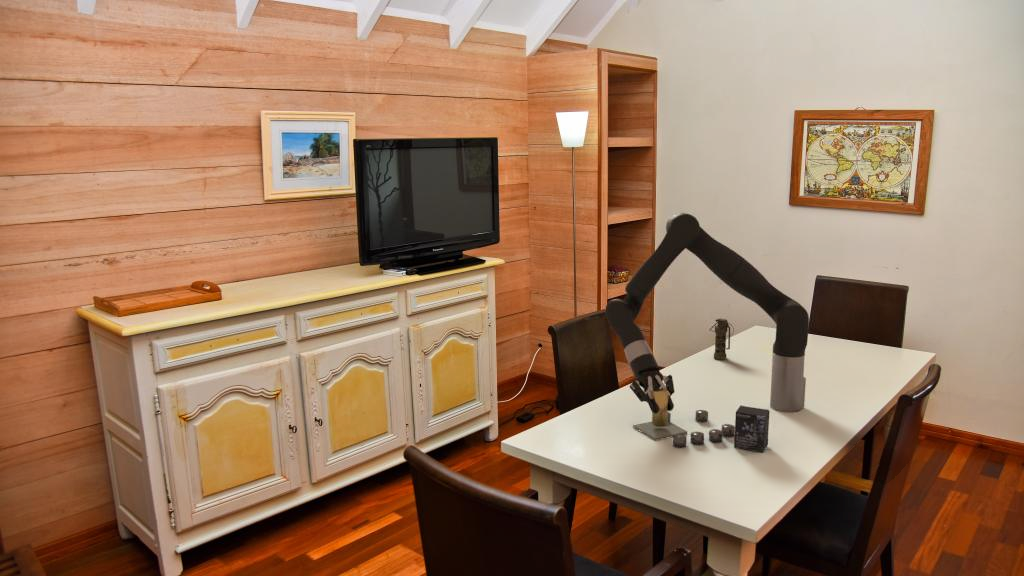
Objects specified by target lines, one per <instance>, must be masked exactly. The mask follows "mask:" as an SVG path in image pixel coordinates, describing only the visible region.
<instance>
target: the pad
mask: <svg viewBox="0 0 1024 576" xmlns="http://www.w3.org/2000/svg"><path fill="white" fill-rule="evenodd" d="M632 427H633V428H634V427H635V428H636V429H635V428H634V429H635V430H637V429H638V430H637V431H639V430H640V431H642V432H643V433H642V432H641V433H642V434H643V435H645V434H646V435H645V436H647V435H648V436H649V438H650V437H651V438H650V439H652V440H653V439H654V440H653V441H658V440H657V439H659V440H662V439H661V438H664V439H668V438H667V437H669V438H673V436H674V435H677V434H681V435H685V434H686V435H687V434H688V430H685V429H684V428H682V427H680V426H678V425H676V424H675V423H674V422H671V421H670V422H668V425H667V426H664V427H657V426H654V425H652V420H651V421H647V422H641V423H638V424H637V423H636V424H633V425H632ZM640 431H639V432H640ZM648 436H647V437H648Z"/></svg>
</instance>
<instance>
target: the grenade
mask: <svg viewBox="0 0 1024 576" xmlns="http://www.w3.org/2000/svg"><path fill="white" fill-rule="evenodd" d="M714 321H715V323H714V325H713V326H711V327H710V328H709V331H710V332H712V333H715V337H714V340H715V341H714V347H715V348H714V352H713V358H714V360H717V361H724V360H727V353H726V350H730V348H731V336H733V334H734V331H735V330H734V326H733V325H732V324H731V323H729V322H728V320H727V319H725V318H717V319H715V320H714ZM730 326H731V327H732V330H733V331H732V333H731V327H730ZM713 328H714V330H712V329H713ZM727 332H728V339H727ZM727 340H728V342H727ZM726 342H727V343H728V346H726V345H727V343H726Z"/></svg>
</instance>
